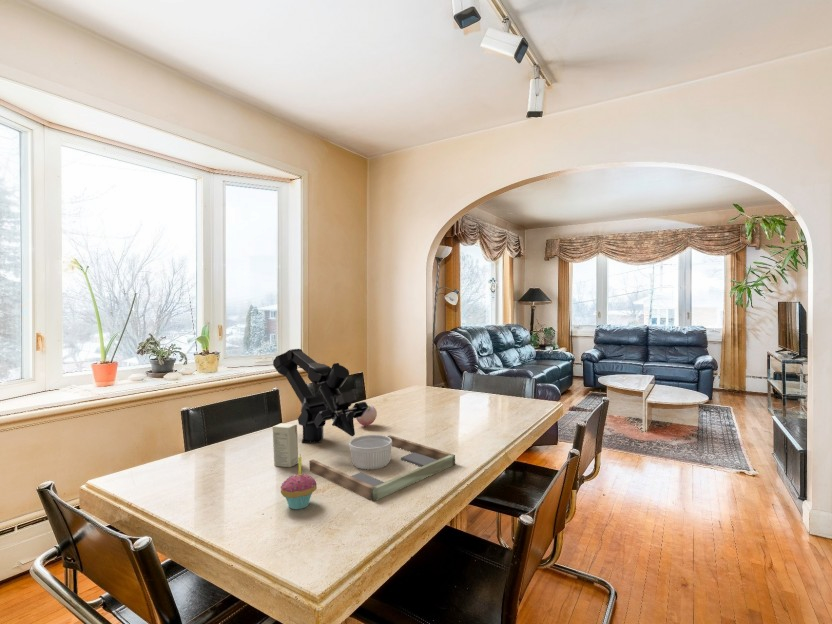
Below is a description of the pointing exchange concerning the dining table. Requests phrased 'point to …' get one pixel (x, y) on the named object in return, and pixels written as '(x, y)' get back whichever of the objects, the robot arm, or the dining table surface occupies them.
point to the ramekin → (370, 451)
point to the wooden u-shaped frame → (390, 486)
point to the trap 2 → (418, 459)
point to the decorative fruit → (368, 416)
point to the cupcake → (298, 489)
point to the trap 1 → (367, 479)
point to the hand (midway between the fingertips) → (353, 435)
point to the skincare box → (285, 445)
